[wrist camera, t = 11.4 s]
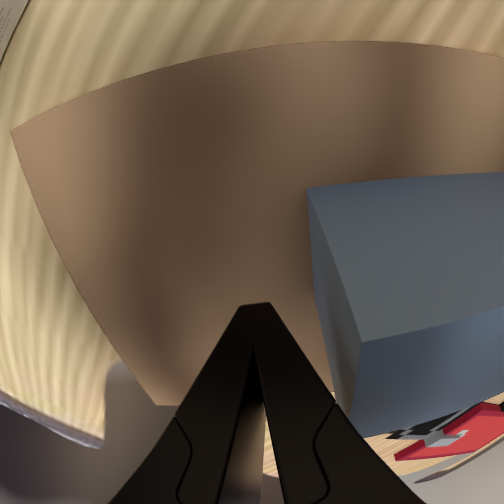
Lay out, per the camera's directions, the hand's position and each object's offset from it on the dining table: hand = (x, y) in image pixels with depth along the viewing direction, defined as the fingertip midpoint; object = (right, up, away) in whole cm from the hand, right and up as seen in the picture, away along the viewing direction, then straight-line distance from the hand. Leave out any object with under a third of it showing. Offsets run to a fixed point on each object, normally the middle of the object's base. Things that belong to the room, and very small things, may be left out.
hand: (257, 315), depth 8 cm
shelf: (+4, +2, +4) cm, 6 cm away
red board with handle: (+26, -18, +18) cm, 36 cm away
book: (+7, +2, +2) cm, 8 cm away
